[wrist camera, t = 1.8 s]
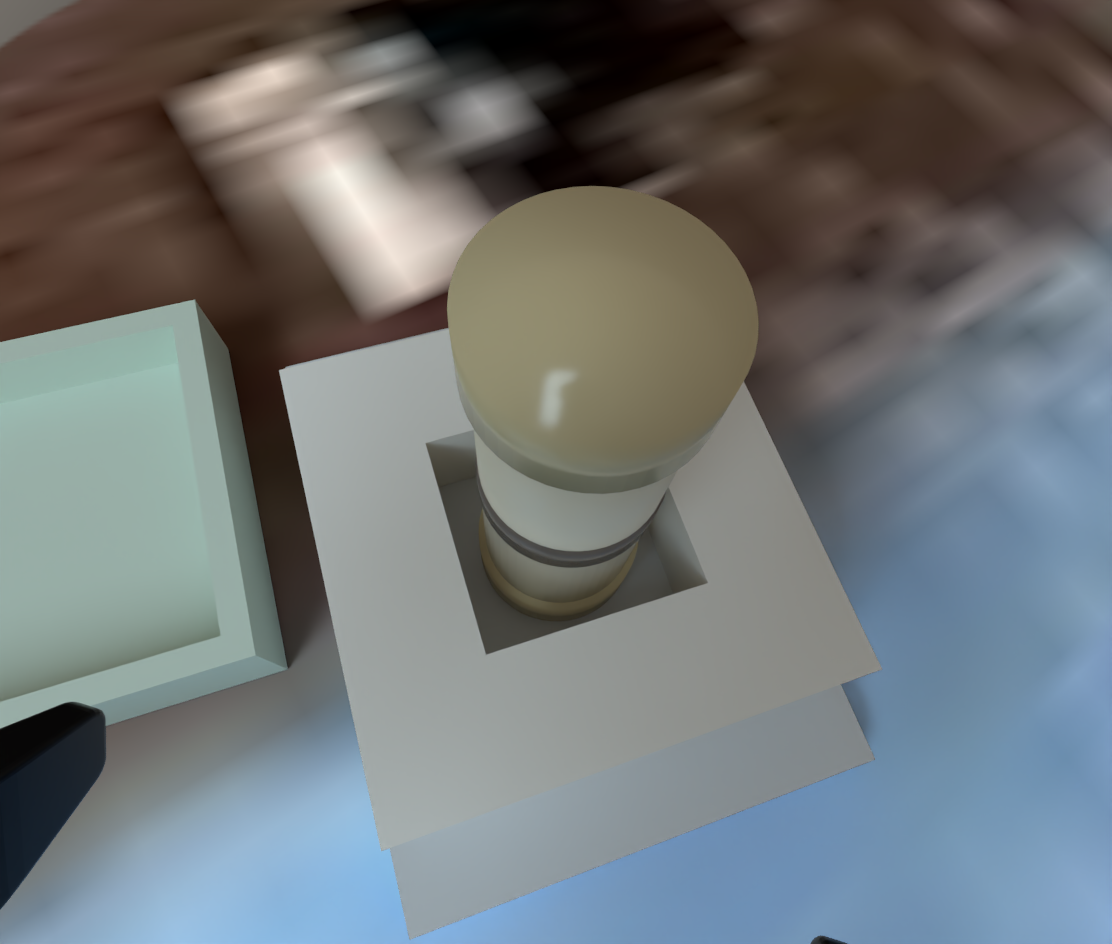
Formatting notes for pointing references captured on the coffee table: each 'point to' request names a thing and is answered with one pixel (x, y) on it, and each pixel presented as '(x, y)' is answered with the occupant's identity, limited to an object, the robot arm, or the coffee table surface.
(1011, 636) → the coffee table surface
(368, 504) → the grey block with recess
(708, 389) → the cream rounded cylinder
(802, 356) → the coffee table surface
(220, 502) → the parts tray
